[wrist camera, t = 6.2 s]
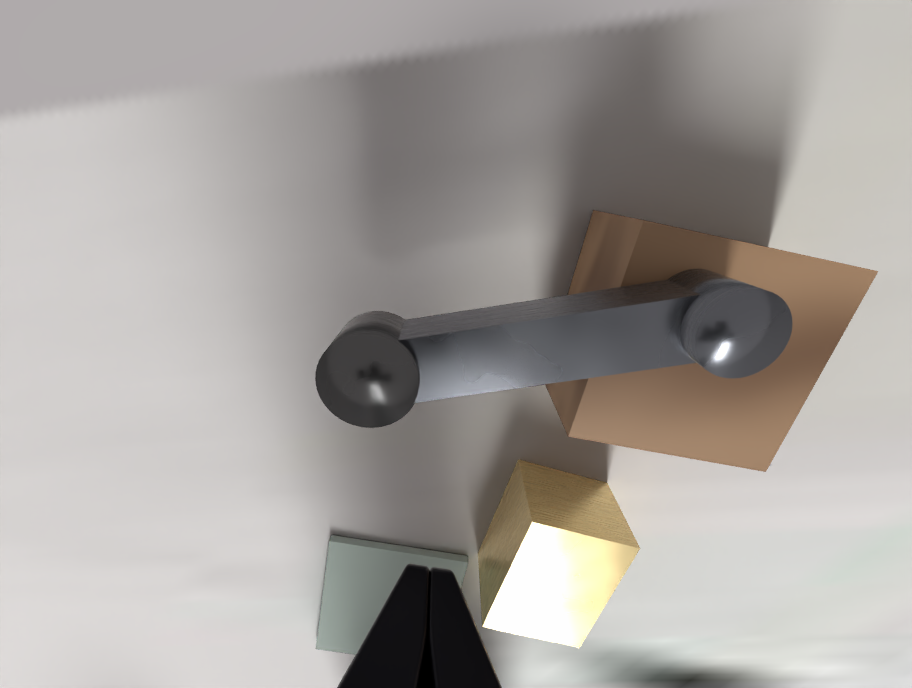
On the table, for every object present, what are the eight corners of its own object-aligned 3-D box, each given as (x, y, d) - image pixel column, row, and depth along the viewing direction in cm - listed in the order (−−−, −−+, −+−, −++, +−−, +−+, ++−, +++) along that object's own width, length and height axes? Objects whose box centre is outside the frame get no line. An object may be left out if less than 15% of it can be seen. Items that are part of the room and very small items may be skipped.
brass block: (558, 569, 22) (579, 647, 19) (477, 550, 22) (482, 626, 18) (606, 480, 20) (640, 548, 17) (517, 457, 20) (532, 522, 16)
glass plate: (439, 658, 25) (438, 665, 24) (317, 641, 24) (315, 649, 24) (467, 556, 22) (468, 562, 21) (331, 534, 21) (329, 541, 21)
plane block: (695, 406, 19) (765, 472, 14) (542, 377, 18) (568, 436, 14) (768, 248, 16) (878, 271, 12) (593, 210, 16) (643, 220, 11)
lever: (348, 398, 13) (326, 442, 11) (326, 318, 12) (296, 349, 10) (726, 343, 12) (785, 378, 10) (732, 255, 12) (799, 272, 9)
